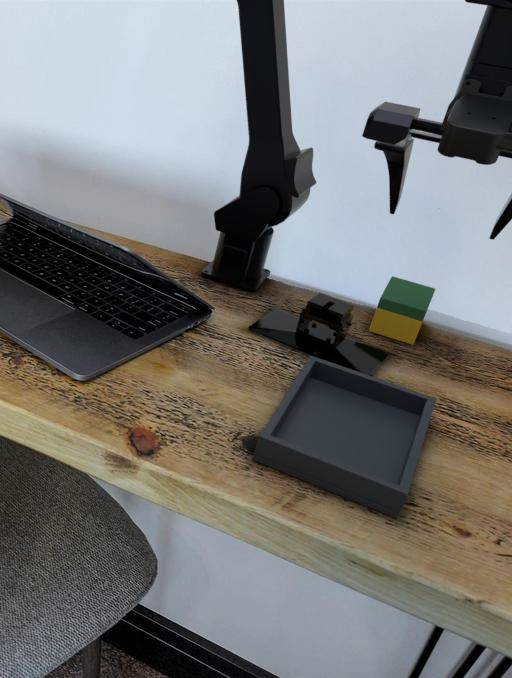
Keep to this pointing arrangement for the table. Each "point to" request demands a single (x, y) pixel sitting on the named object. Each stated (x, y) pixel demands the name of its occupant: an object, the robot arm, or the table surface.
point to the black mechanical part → (321, 334)
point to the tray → (348, 434)
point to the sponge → (401, 310)
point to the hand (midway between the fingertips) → (440, 225)
